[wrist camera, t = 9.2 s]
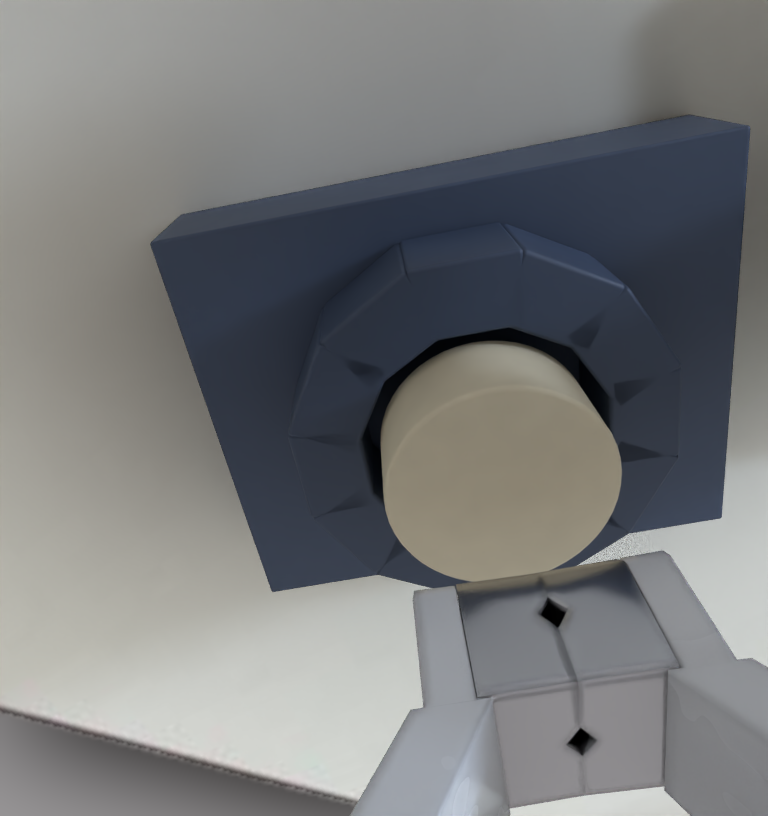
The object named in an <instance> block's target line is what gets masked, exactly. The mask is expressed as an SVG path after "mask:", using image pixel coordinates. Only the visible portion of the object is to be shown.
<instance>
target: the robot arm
mask: <svg viewBox="0 0 768 816" xmlns="http://www.w3.org/2000/svg"><path fill="white" fill-rule="evenodd" d="M456 588H457V592H456ZM456 588H455V586H448V587H440V588H432V589H425V590H417V591H414V595H413V607H414V617H415V627H416V637H417V647H418V657H419V667H420V677H421V687H422V697H423V706H424V708H419V709H413V710H410V712H409V713H408V715H407V717H406V719H405V720H404V722H403V724H402V726H401V727H400V729H399V731H398V733H397V734H396V736H395V738H394V740H393V741H392V743H391V745H390V747H389V748H388V750H387V752H386V754H385V755H384V757H383V759H382V761H381V762H380V764H379V766H378V768H377V769H376V771H375V773H374V775H373V776H372V778H371V780H370V782H369V783H368V785H367V787H366V789H365V790H364V792H363V794H362V796H361V797H360V799H359V801H358V803H357V804H356V806H355V808H354V810H353V811H352V813H351V815H350V816H510V810H509V808H515V807H521V806H526V805H532V804H538V803H544V802H549V801H555V800H561V799H567V798H572V797H578V796H584V795H592V794H601V793H610V792H619V791H627V790H636V789H645V788H654V787H662V786H665V790H664V791H666V792H667V793H668V794H669V795H670V796H671V797H672V798H673V799H674V800H675V801H676V802H677V803H678V804H679V805H680V806H681V807H682V808H683V809H684V810H685V811H686V812H687V813H689V814H690V815H691V816H768V667H766V666H765V665H763V664H761V663H759V662H758V661H756V660H754V659H753V658H748V659H739V660H737V659H736V657H735V656H734V654H733V653H732V651H731V649H730V648H729V646H728V645H727V643H726V642H725V640H724V639H723V637H722V635H721V634H720V632H719V631H718V629H717V628H716V626H715V624H714V623H713V621H712V620H711V618H710V617H709V615H708V613H707V612H706V610H705V609H704V607H703V606H702V604H701V603H700V601H699V599H698V598H697V596H696V595H695V593H694V592H693V590H692V588H691V587H690V585H689V584H688V582H687V581H686V579H685V578H684V576H683V574H682V573H681V571H680V570H679V568H678V567H677V565H676V563H675V562H674V560H673V559H672V557H671V556H670V555H669V554H667V553H666V552H664V551H658V552H652V553H646V554H641V555H635V556H629V557H624V558H620V560H618V559H614V560H609V561H603V562H597V563H591V564H585V565H579V566H574V567H568V568H562V569H556V570H550V571H544V572H538V573H534V574H527V575H520V576H513V577H505V578H498V579H491V580H484V581H476V582H469V583H462V584H456ZM457 595H458V597H457ZM458 601H459V603H458ZM459 607H460V608H459Z"/></svg>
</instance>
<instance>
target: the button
mask: <svg viewBox="0 0 768 816" xmlns="http://www.w3.org/2000/svg"><path fill="white" fill-rule="evenodd" d="M380 445H381V461H382V478H383V494H384V504H385V511H386V514H387V517H388V521H389V523H390V525H391V527H392V529H393V531H394V534H395V535H396V537H397V538H398V539H399V541H400V542H401V544H402V545H403V546H404V547H405V548H406V549H407V550H408V551H409V552H410V553H411V554H412V555H413V556H414V557H415V558H416V559H418V560H419V561H420V562H421V563H423V564H425V565H426V566H428V567H430V568H431V569H433V570H435V571H437V572H440V573H442V574H444V575H447V576H450V577H453V578H456V579H460V580H466V581H471V582H476V581H484V580H491V579H498V578H505V577H513V576H520V575H527V574H534V573H538V572H544V571H549V570H552V569H554V568H556V567H558V566H560V565H561V564H563V563H565V562H567V561H568V560H570V559H571V558H573V557H574V556H576V555H577V554H578V553H580V552H581V551H582V550H583V549H584V548H585V547H587V546H588V545H589V544H590V543H591V542H592V541H593V540H594V539H595V538H596V536H597V535H598V534H599V533H600V532H601V530H602V529H603V527H604V526H605V525H606V523H607V522H608V520H609V518H610V516H611V514H612V513H613V511H614V508H615V505H616V503H617V500H618V496H619V492H620V487H621V477H622V467H621V457H620V454H619V450H618V446H617V444H616V441H615V439H614V437H613V435H612V433H611V431H610V430H609V428H608V427H607V425H606V424H605V423H604V421H603V420H602V418H601V417H600V415H599V414H598V412H597V411H596V409H595V408H594V406H593V405H592V403H591V402H590V400H589V399H588V397H587V396H586V394H585V393H584V391H583V390H582V388H581V387H580V385H579V384H578V382H577V381H576V379H575V378H574V376H573V375H572V374H571V373H570V372H569V371H568V370H567V368H566V367H565V366H564V365H562V364H561V363H560V362H559V361H557V360H556V359H555V358H553V357H552V356H550V355H548V354H546V353H545V352H543V351H541V350H538V349H536V348H533V347H531V346H528V345H524V344H520V343H516V342H508V341H480V342H472V343H468V344H464V345H460V346H456V347H454V348H451V349H448V350H446V351H443V352H442V353H440V354H438V355H436V356H434V357H432V358H430V359H429V360H427V361H426V362H424V363H423V364H422V365H420V366H419V367H418V368H416V369H415V370H414V371H413V372H412V373H411V374H410V375H409V376H408V377H407V378H406V379H405V380H404V381H403V382H402V384H401V385H400V386H399V387H398V389H397V390H396V392H395V393H394V395H393V396H392V398H391V400H390V402H389V404H388V406H387V408H386V411H385V415H384V418H383V421H382V427H381V442H380Z"/></svg>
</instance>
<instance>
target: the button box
mask: <svg viewBox="0 0 768 816" xmlns="http://www.w3.org/2000/svg"><path fill="white" fill-rule="evenodd" d="M749 138H750V126H748V125H742V124H737V123H732V122H726V121H721V120H715V119H710V118H705V117H699V116H694V115H685V116H680V117H675V118H670V119H665V120H660V121H655V122H650V123H645V124H640V125H635V126H629V127H624V128H619V129H614V130H609V131H604V132H599V133H594V134H589V135H584V136H579V137H574V138H568V139H563V140H558V141H553V142H548V143H543V144H538V145H533V146H528V147H523V148H518V149H513V150H507V151H502V152H497V153H492V154H487V155H482V156H477V157H472V158H467V159H462V160H457V161H452V162H446V163H441V164H436V165H431V166H426V167H421V168H416V169H411V170H406V171H401V172H396V173H391V174H385V175H380V176H375V177H370V178H365V179H360V180H355V181H350V182H345V183H340V184H335V185H330V186H324V187H319V188H314V189H309V190H304V191H299V192H294V193H289V194H284V195H279V196H274V197H269V198H263V199H258V200H253V201H248V202H243V203H238V204H233V205H228V206H223V207H218V208H213V209H208V210H202V211H197V212H192V213H187V214H182V215H180V216H179V217H178V218H177V219H176V220H175V221H174V222H172V223H171V224H170V225H169V226H168V227H167V228H166V229H165V230H164V231H163V232H162V233H160V234H159V235H158V236H157V237H156V238H155V239H154V240H153V241H152V242H151V248H152V251H153V253H154V256H155V259H156V262H157V265H158V268H159V271H160V273H161V276H162V279H163V282H164V285H165V288H166V291H167V293H168V296H169V299H170V302H171V305H172V308H173V311H174V313H175V316H176V319H177V322H178V325H179V328H180V331H181V333H182V336H183V339H184V342H185V345H186V348H187V351H188V353H189V356H190V359H191V362H192V365H193V368H194V371H195V373H196V376H197V379H198V382H199V385H200V388H201V391H202V393H203V396H204V399H205V402H206V405H207V408H208V411H209V413H210V416H211V419H212V422H213V425H214V428H215V431H216V433H217V436H218V439H219V442H220V445H221V448H222V451H223V453H224V456H225V459H226V462H227V465H228V468H229V471H230V473H231V476H232V479H233V482H234V485H235V488H236V490H237V493H238V496H239V499H240V502H241V505H242V508H243V510H244V513H245V516H246V519H247V522H248V525H249V528H250V530H251V533H252V536H253V539H254V542H255V545H256V548H257V550H258V553H259V556H260V559H261V562H262V565H263V568H264V570H265V573H266V576H267V579H268V582H269V585H270V588H271V590H272V592H276V591H282V590H288V589H294V588H300V587H306V586H312V585H318V584H324V583H330V582H336V581H342V580H349V579H355V578H361V577H367V576H373V575H381V576H385V577H389V578H393V579H397V580H401V581H406V582H410V583H414V584H418V585H422V586H426V587H430V588H440V587H448V586H455V588H456V584H462V583H469V582H471V581H466V580H460V579H456V578H453V577H450V576H447V575H444V574H442V573H440V572H437V571H435V570H433V569H431V568H430V567H428V566H426V565H425V564H423V563H421V562H420V561H419V560H418V559H416V558H415V557H414V556H413V555H412V554H411V553H410V552H409V551H408V550H407V549H406V548H405V547H404V546H403V545H402V544H401V542H400V541H399V539H398V538H397V537H396V535H395V534H394V531H393V529H392V527H391V525H390V523H389V521H388V517H387V514H386V511H385V504H384V494H383V478H382V461H381V445H380V442H381V427H382V421H383V418H384V415H385V411H386V408H387V406H388V404H389V402H390V400H391V398H392V396H393V395H394V393H395V392H396V390H397V389H398V387H399V386H400V385H401V384H402V382H403V381H404V380H405V379H406V378H407V377H408V376H409V375H410V374H411V373H412V372H413V371H414V370H415V369H416V368H418V367H419V366H420V365H422V364H423V363H424V362H426V361H427V360H429V359H430V358H432V357H434V356H436V355H438V354H440V353H442V352H443V351H446V350H448V349H451V348H454V347H456V346H460V345H464V344H468V343H472V342H480V341H508V342H516V343H520V344H524V345H528V346H531V347H533V348H536V349H538V350H541V351H543V352H545V353H546V354H548V355H550V356H552V357H553V358H555V359H556V360H557V361H559V362H560V363H561V364H562V365H564V366H565V367H566V368H567V370H568V371H569V372H570V373H571V374H572V375H573V376H574V378H575V379H576V381H577V382H578V384H579V385H580V387H581V388H582V390H583V391H584V393H585V394H586V396H587V397H588V399H589V400H590V402H591V403H592V405H593V406H594V408H595V409H596V411H597V412H598V414H599V415H600V417H601V418H602V420H603V421H604V423H605V424H606V425H607V427H608V428H609V430H610V431H611V433H612V435H613V437H614V439H615V441H616V444H617V446H618V450H619V454H620V457H621V467H622V477H621V487H620V492H619V496H618V500H617V503H616V505H615V508H614V511H613V513H612V514H611V516H610V518H609V520H608V522H607V523H606V525H605V526H604V527H603V529H602V530H601V532H600V533H599V534H598V535H597V536H596V538H595V539H594V540H593V541H592V542H591V543H590V544H589V545H588V546H587V547H585V548H584V549H583V550H582V551H581V552H580V553H578V554H577V555H576V556H574V557H573V558H571V559H570V560H568V561H567V562H565V563H563V564H561V565H560V566H558V567H556V568H554V569H552V570H556V569H562V568H568V567H574V566H577V565H578V564H580V563H582V562H583V561H585V560H586V559H588V558H590V557H591V556H593V555H595V554H596V553H598V552H599V551H601V550H603V549H604V548H606V547H608V546H609V545H611V544H612V543H614V542H616V541H617V540H619V539H621V538H622V537H624V536H625V535H627V534H628V533H634V532H640V531H646V530H652V529H659V528H665V527H671V526H677V525H683V524H689V523H695V522H701V521H707V520H713V519H719V518H721V517H722V505H723V491H724V478H725V464H726V450H727V437H728V423H729V410H730V396H731V383H732V369H733V355H734V342H735V328H736V315H737V301H738V288H739V274H740V260H741V247H742V233H743V220H744V206H745V193H746V179H747V165H748V152H749ZM549 571H550V570H549ZM456 592H457V588H456Z"/></svg>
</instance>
